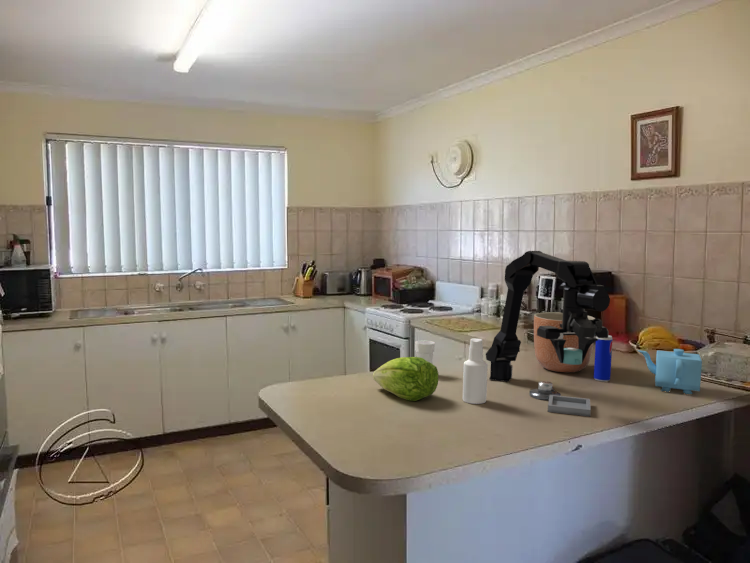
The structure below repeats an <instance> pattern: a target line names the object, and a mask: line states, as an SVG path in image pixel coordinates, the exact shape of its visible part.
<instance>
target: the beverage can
mask: <svg viewBox="0 0 750 563" xmlns="http://www.w3.org/2000/svg"><path fill="white" fill-rule="evenodd" d="M596 338H597V339H598V341H595V344H594V345H595V347H594V366H593V378H594V380H595V381H596V382H597V381H598V382H602V383H606V382H607V383H608V382H610V380H611V376H612V375H611V373H612V356H613V355H612V354H613V353H612V352H613V336H612V335H609V334H608V338H598V337H597V336H596Z"/></svg>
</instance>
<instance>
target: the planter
mask: <svg viewBox="0 0 750 563" xmlns="http://www.w3.org/2000/svg"><path fill="white" fill-rule="evenodd" d="M562 317H563V313H560V311H559V312H558V311H556V312H552V311H551V312H549V311H547V312H546V311H545V312H538V313H535V314H534V315H533V345H534V346H533V347H534V355H535V359H536V361H537V362H538V363H539V364H540V366H542V367H543V368H544V369H546V370H547V371H552V372H557V373H567V374H568V373H577V372H580V371H582V370H584V369H585V368H587V366H588V365H589V363H590V360H591V358H592V353H593V350H594V349H593V348H594V343H592V344H591V346H590V347H589V349H588V351H587V354H586V356H585V358H584V360H583V362H582V364H580V365H570V364H564V363H560V361H559V359H558V356H557V353H556V351H555V348H554V346H553V344H552V342H551V340H550V339H545V338H542V337H540V336H537V329H538V328H539V326H553V327H556V328H559V329H562V328H561V327H560V324H562ZM588 319H589V320H593V319H596V317H593V316H591V315H588ZM563 339H564V340H566V342H565V344H564V348H576V349H579V345H578V336H577V335H563Z"/></svg>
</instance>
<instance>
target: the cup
mask: <svg viewBox="0 0 750 563" xmlns="http://www.w3.org/2000/svg"><path fill="white" fill-rule="evenodd" d="M435 345H436V342H435V341H431V340H416V341H414V352H415V354H416V355H415V357H420V358H423V359H425V360H426V361H428V362H430V363H432V364H433V359H434V352H435Z"/></svg>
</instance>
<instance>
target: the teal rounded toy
mask: <svg viewBox="0 0 750 563" xmlns="http://www.w3.org/2000/svg"><path fill="white" fill-rule="evenodd" d="M582 353H583V351H582V350H580V349H576V348H564V360H563V363H564V364H570V365H580V364H582Z"/></svg>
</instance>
